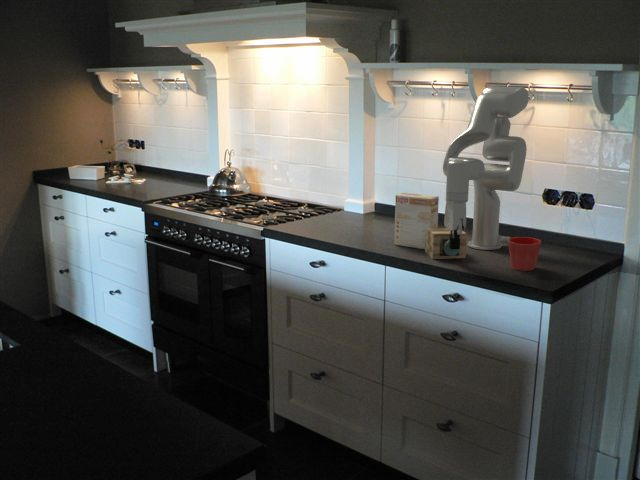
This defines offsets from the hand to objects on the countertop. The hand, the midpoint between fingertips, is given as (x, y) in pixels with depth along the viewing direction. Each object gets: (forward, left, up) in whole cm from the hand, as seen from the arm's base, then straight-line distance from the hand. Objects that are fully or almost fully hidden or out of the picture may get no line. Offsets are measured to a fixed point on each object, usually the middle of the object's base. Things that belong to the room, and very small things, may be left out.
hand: (454, 248), depth 247 cm
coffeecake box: (+7, -25, -5) cm, 26 cm away
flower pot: (-21, +10, -5) cm, 24 cm away
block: (0, -10, -5) cm, 11 cm away
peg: (0, -8, -3) cm, 8 cm away
